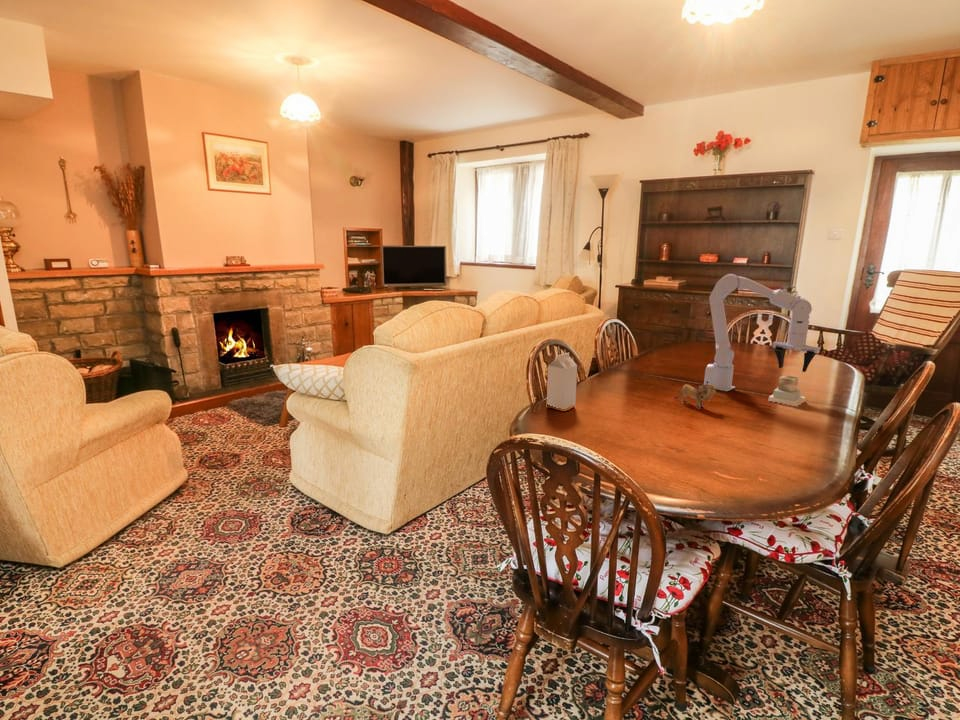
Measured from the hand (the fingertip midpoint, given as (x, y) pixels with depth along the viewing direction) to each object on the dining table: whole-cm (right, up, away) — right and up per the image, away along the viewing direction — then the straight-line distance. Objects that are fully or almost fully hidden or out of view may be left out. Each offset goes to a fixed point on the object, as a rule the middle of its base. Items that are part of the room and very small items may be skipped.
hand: (792, 369), depth 181 cm
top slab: (-4, -10, -3) cm, 11 cm away
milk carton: (-87, -13, -11) cm, 88 cm away
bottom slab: (-4, -12, -3) cm, 13 cm away
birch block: (-4, -7, -4) cm, 9 cm away
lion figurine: (-39, -13, -8) cm, 42 cm away
